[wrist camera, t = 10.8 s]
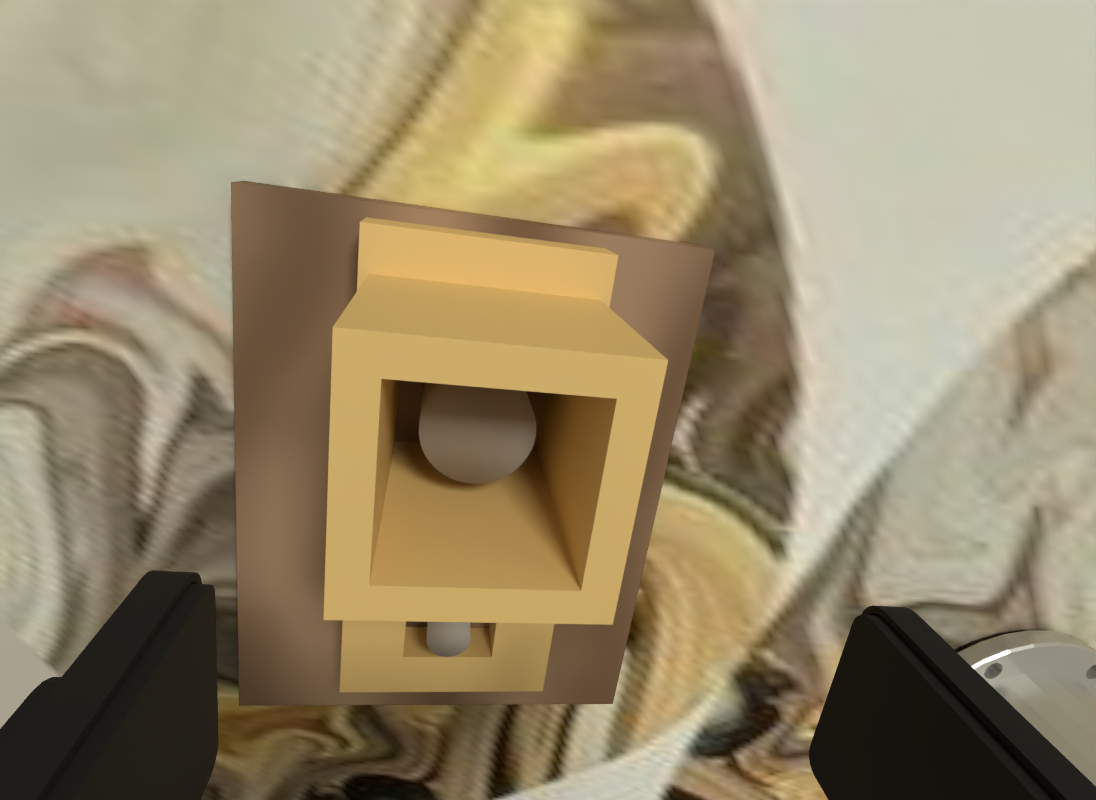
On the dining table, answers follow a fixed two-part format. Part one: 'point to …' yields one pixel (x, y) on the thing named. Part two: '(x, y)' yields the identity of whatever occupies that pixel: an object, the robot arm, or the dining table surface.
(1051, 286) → the dining table surface
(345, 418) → the tan stepped holder block
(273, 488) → the base
